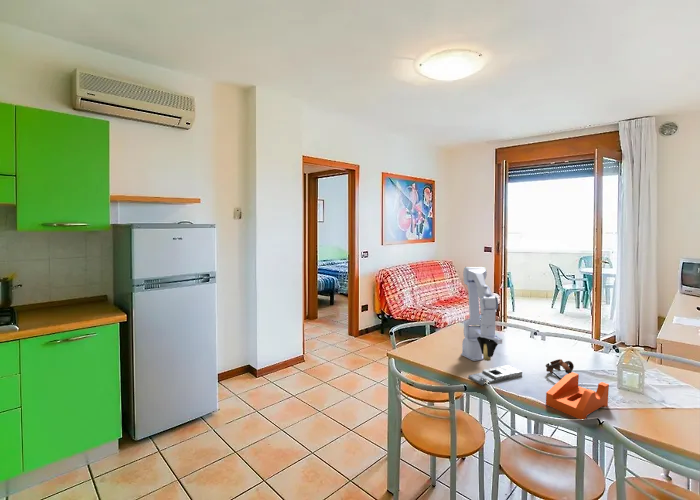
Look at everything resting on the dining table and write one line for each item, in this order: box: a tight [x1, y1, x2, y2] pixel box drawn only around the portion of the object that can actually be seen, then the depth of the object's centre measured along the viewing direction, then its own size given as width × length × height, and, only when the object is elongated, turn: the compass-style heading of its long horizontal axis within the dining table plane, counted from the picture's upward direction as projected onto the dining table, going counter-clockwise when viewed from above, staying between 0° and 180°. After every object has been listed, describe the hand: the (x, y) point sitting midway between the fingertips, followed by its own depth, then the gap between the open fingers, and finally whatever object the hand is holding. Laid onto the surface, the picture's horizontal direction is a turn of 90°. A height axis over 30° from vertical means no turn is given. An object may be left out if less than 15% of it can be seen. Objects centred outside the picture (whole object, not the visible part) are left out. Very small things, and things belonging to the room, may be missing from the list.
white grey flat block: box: [468, 364, 523, 386], centre depth 161 cm, size 22×8×2 cm, turn 113°
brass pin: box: [482, 343, 492, 362], centre depth 161 cm, size 3×3×7 cm
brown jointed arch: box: [545, 358, 575, 374], centre depth 161 cm, size 12×10×8 cm
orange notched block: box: [545, 371, 610, 420], centre depth 136 cm, size 18×13×8 cm
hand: (487, 355), depth 161 cm, fingers closed on brass pin, 3 cm apart
